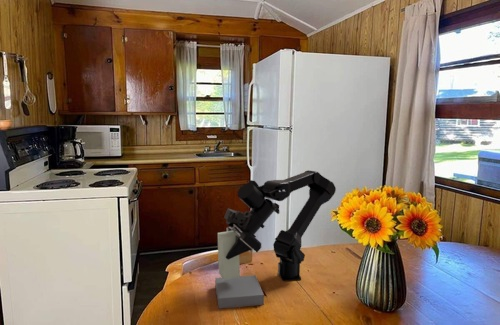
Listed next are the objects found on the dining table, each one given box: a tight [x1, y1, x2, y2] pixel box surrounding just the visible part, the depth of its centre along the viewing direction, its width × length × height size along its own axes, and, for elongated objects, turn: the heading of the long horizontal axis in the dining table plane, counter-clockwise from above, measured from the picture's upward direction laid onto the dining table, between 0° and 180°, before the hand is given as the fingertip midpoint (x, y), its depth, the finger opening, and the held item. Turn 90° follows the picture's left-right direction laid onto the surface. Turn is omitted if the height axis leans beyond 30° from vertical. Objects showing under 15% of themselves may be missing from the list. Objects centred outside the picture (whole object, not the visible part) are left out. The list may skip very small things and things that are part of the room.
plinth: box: [214, 274, 265, 309], centre depth 106 cm, size 13×13×3 cm
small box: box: [226, 226, 254, 265], centre depth 131 cm, size 8×6×13 cm
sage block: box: [217, 230, 241, 280], centre depth 106 cm, size 5×5×13 cm
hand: (224, 255), depth 105 cm, fingers closed on sage block, 5 cm apart
